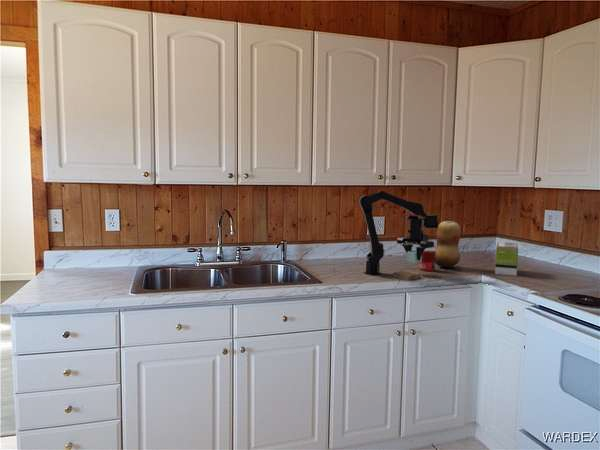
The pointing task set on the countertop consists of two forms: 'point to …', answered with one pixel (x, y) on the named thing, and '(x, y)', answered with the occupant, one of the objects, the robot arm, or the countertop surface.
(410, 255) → the teal block
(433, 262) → the canned food
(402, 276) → the walnut base
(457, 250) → the butternut squash
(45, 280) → the countertop surface
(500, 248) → the tea box
